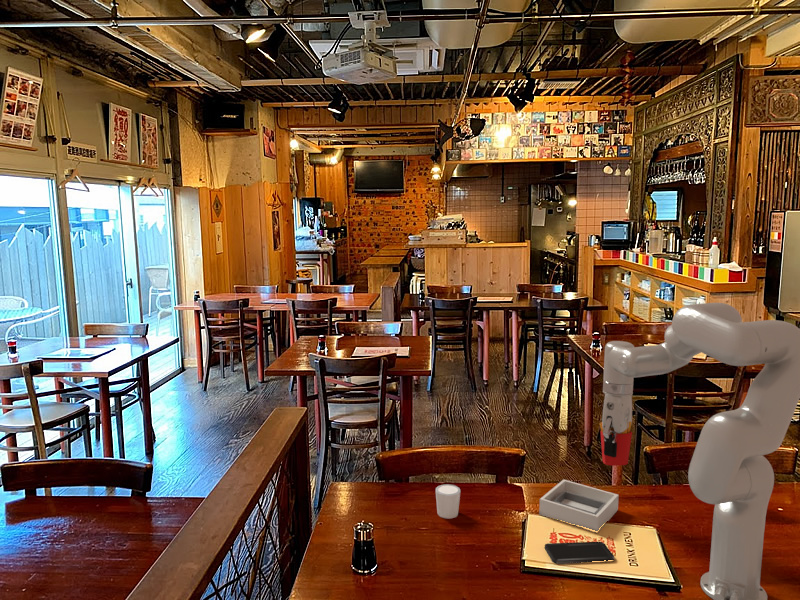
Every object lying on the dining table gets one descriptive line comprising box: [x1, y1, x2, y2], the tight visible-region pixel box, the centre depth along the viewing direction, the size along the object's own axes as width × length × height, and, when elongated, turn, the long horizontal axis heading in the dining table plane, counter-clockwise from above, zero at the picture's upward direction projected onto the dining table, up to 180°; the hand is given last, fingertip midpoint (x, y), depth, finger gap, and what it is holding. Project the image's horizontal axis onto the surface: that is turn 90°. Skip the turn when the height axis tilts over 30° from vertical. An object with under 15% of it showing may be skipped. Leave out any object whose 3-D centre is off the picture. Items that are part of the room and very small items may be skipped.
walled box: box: [538, 478, 620, 531], centre depth 164 cm, size 16×16×4 cm
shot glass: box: [435, 483, 461, 520], centre depth 163 cm, size 7×7×7 cm
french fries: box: [599, 421, 633, 467], centre depth 161 cm, size 8×4×12 cm, turn 94°
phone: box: [544, 541, 615, 565], centre depth 144 cm, size 8×1×15 cm
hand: (614, 451), depth 161 cm, fingers closed on french fries, 5 cm apart
